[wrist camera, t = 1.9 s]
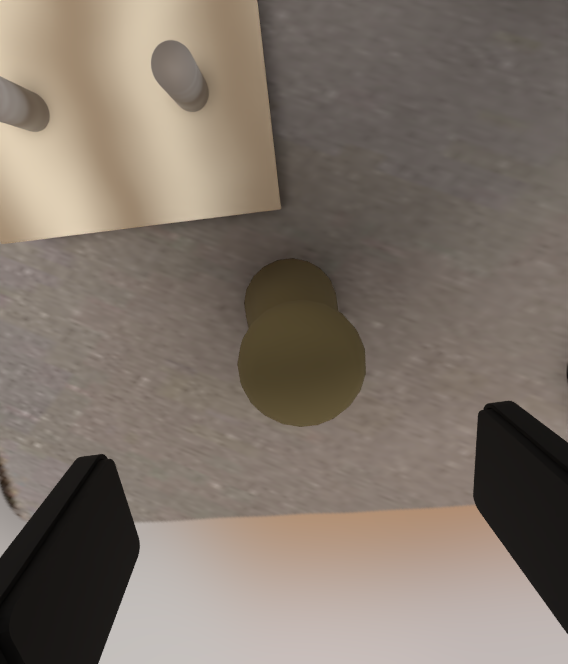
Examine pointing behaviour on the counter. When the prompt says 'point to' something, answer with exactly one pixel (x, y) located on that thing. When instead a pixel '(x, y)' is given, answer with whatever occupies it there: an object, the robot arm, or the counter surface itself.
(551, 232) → the counter surface
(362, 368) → the olive chess pawn
